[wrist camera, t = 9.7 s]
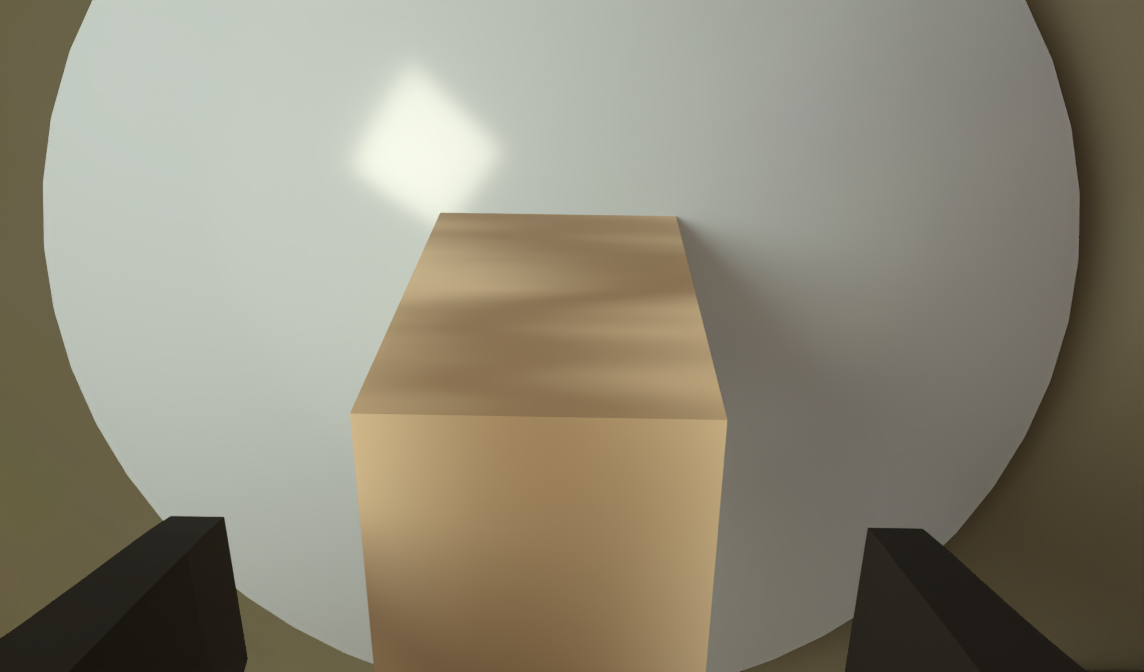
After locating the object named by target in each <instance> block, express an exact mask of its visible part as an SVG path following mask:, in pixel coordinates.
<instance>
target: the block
mask: <svg viewBox="0 0 1144 672" xmlns="http://www.w3.org/2000/svg"><path fill="white" fill-rule="evenodd" d="M350 420H351V431H352V442H353V452H354V463H355V473H356V484H357V495H358V505H359V516H360V526H361V537H362V548H363V558H364V569H365V579H366V590H367V601H368V611H369V622H370V632H371V643H372V654H373V664H374V672H706V664H707V652H708V641H709V629H710V617H711V606H712V594H713V583H714V571H715V559H716V548H717V536H718V524H719V513H720V501H721V490H722V478H723V466H724V455H725V443H726V432H727V416H726V412H725V408H724V404H723V400H722V396H721V392H720V388H719V384H718V381H717V377H716V373H715V369H714V365H713V361H712V357H711V353H710V349H709V345H708V341H707V337H706V333H705V329H704V325H703V321H702V317H701V313H700V309H699V305H698V301H697V297H696V293H695V289H694V285H693V281H692V278H691V274H690V270H689V266H688V262H687V258H686V254H685V250H684V246H683V242H682V238H681V234H680V230H679V226H678V222H677V218H676V216H633V215H566V214H499V213H440V214H439V216H438V219H437V221H436V223H435V225H434V228H433V230H432V232H431V234H430V236H429V239H428V241H427V243H426V245H425V248H424V250H423V252H422V254H421V256H420V259H419V261H418V263H417V265H416V268H415V270H414V272H413V274H412V276H411V279H410V281H409V283H408V285H407V288H406V290H405V292H404V294H403V296H402V299H401V301H400V303H399V305H398V308H397V310H396V312H395V314H394V316H393V319H392V321H391V323H390V325H389V328H388V330H387V332H386V334H385V337H384V339H383V341H382V343H381V345H380V348H379V350H378V352H377V354H376V357H375V359H374V361H373V363H372V365H371V368H370V370H369V372H368V374H367V377H366V379H365V381H364V383H363V385H362V388H361V390H360V392H359V394H358V397H357V399H356V401H355V403H354V405H353V408H352V410H351V412H350Z"/></svg>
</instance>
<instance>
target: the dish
mask: <svg viewBox="0 0 1144 672" xmlns="http://www.w3.org/2000/svg"><path fill="white" fill-rule="evenodd" d="M1079 206H1080V192H1079V184H1078V176H1077V168H1076V161H1075V153H1074V145H1073V137H1072V129H1071V124H1070V121H1069V117H1068V114H1067V110H1066V107H1065V103H1064V99H1063V96H1062V92H1061V89H1060V85H1059V82H1058V78H1057V75H1056V71H1055V68H1054V64H1053V60H1052V58H1051V56H1050V54H1049V51H1048V49H1047V47H1046V45H1045V42H1044V40H1043V38H1042V36H1041V34H1040V31H1039V29H1038V27H1037V25H1036V23H1035V20H1034V18H1033V16H1032V14H1031V12H1030V9H1029V7H1028V5H1027V3H1026V0H93V1H92V3H91V5H90V7H89V10H88V12H87V14H86V16H85V18H84V21H83V23H82V25H81V27H80V30H79V32H78V34H77V36H76V38H75V41H74V43H73V45H72V47H71V50H70V52H69V56H68V59H67V63H66V66H65V70H64V74H63V77H62V81H61V84H60V88H59V91H58V95H57V99H56V102H55V106H54V109H53V113H52V117H51V124H50V132H49V140H48V148H47V155H46V163H45V171H44V179H43V209H44V249H45V256H46V262H47V268H48V275H49V281H50V287H51V294H52V300H53V306H54V311H55V315H56V318H57V321H58V325H59V328H60V331H61V335H62V338H63V341H64V345H65V348H66V351H67V355H68V358H69V361H70V365H71V368H72V370H73V373H74V375H75V377H76V379H77V382H78V384H79V386H80V388H81V391H82V393H83V395H84V397H85V400H86V402H87V404H88V406H89V409H90V411H91V413H92V415H93V418H94V420H95V422H96V424H97V426H98V427H99V429H100V431H101V432H102V434H103V436H104V437H105V439H106V441H107V442H108V444H109V446H110V447H111V449H112V451H113V452H114V454H115V456H116V457H117V459H118V460H119V462H120V464H121V465H122V467H123V469H124V470H125V472H126V474H127V475H128V476H129V478H130V479H131V480H132V482H133V483H134V484H135V485H136V487H137V488H138V489H139V491H140V492H141V493H142V494H143V496H144V497H145V498H146V499H147V501H148V502H149V503H150V505H151V506H152V507H153V508H154V510H155V511H156V512H157V514H158V515H159V516H160V517H161V519H162V520H163V521H164V520H165V519H167V518H168V517H170V516H202V517H224V519H225V525H226V531H227V537H228V543H229V549H230V555H231V561H232V567H233V573H234V579H235V585H236V588H237V589H238V590H239V591H240V592H242V593H243V594H244V595H245V596H247V597H248V598H249V599H251V600H253V601H254V602H256V603H257V604H259V605H260V606H262V607H263V608H265V609H266V610H268V611H270V612H271V613H273V614H274V615H276V616H277V617H279V618H280V619H282V620H284V621H285V622H287V623H288V624H290V625H291V626H293V627H294V628H296V629H298V630H300V631H302V632H304V633H306V634H308V635H310V636H312V637H314V638H316V639H318V640H320V641H322V642H324V643H326V644H328V645H330V646H332V647H334V648H336V649H338V650H340V651H342V652H344V653H346V654H349V655H351V656H354V657H356V658H359V659H362V660H364V661H367V662H369V663H372V664H373V654H372V643H371V632H370V622H369V611H368V601H367V590H366V579H365V569H364V558H363V548H362V537H361V526H360V516H359V505H358V495H357V484H356V473H355V463H354V452H353V442H352V431H351V420H350V412H351V410H352V408H353V405H354V403H355V401H356V399H357V397H358V394H359V392H360V390H361V388H362V385H363V383H364V381H365V379H366V377H367V374H368V372H369V370H370V368H371V365H372V363H373V361H374V359H375V357H376V354H377V352H378V350H379V348H380V345H381V343H382V341H383V339H384V337H385V334H386V332H387V330H388V328H389V325H390V323H391V321H392V319H393V316H394V314H395V312H396V310H397V308H398V305H399V303H400V301H401V299H402V296H403V294H404V292H405V290H406V288H407V285H408V283H409V281H410V279H411V276H412V274H413V272H414V270H415V268H416V265H417V263H418V261H419V259H420V256H421V254H422V252H423V250H424V248H425V245H426V243H427V241H428V239H429V236H430V234H431V232H432V230H433V228H434V225H435V223H436V221H437V219H438V216H439V214H440V213H499V214H566V215H633V216H676V218H677V222H678V226H679V230H680V234H681V238H682V242H683V246H684V250H685V254H686V258H687V262H688V266H689V270H690V274H691V278H692V281H693V285H694V289H695V293H696V297H697V301H698V305H699V309H700V313H701V317H702V321H703V325H704V329H705V333H706V337H707V341H708V345H709V349H710V353H711V357H712V361H713V365H714V369H715V373H716V377H717V381H718V384H719V388H720V392H721V396H722V400H723V404H724V408H725V412H726V416H727V432H726V443H725V455H724V466H723V478H722V490H721V501H720V513H719V524H718V536H717V548H716V559H715V571H714V583H713V594H712V606H711V617H710V629H709V641H708V652H707V664H706V672H739V671H742V670H745V669H748V668H751V667H754V666H757V665H759V664H762V663H765V662H768V661H771V660H774V659H776V658H778V657H780V656H782V655H784V654H786V653H788V652H791V651H793V650H795V649H797V648H799V647H801V646H803V645H805V644H808V643H810V642H812V641H814V640H816V639H818V638H820V637H822V636H824V635H826V634H827V633H829V632H831V631H832V630H834V629H836V628H837V627H839V626H841V625H842V624H844V623H846V622H847V621H849V620H850V619H852V618H853V617H854V611H855V605H856V598H857V592H858V586H859V579H860V573H861V567H862V560H863V554H864V548H865V541H866V535H867V529H868V528H918V529H924V530H925V531H926V532H928V533H929V534H930V535H931V536H932V537H933V538H935V539H936V540H937V541H938V542H939V543H940V544H942V545H944V544H945V543H946V542H947V541H948V540H950V539H951V538H952V537H953V536H954V535H955V534H956V533H957V532H958V530H959V529H960V528H961V527H962V525H963V524H964V523H965V522H966V520H967V519H968V518H969V517H970V516H971V514H972V513H973V512H974V511H975V509H976V508H977V507H978V506H979V504H980V503H981V502H982V501H983V499H984V498H985V497H986V496H987V494H988V493H989V492H990V491H991V490H992V488H993V487H994V486H995V484H996V482H997V481H998V479H999V478H1000V476H1001V474H1002V473H1003V471H1004V469H1005V468H1006V466H1007V465H1008V463H1009V461H1010V460H1011V458H1012V457H1013V455H1014V453H1015V452H1016V450H1017V449H1018V447H1019V445H1020V444H1021V442H1022V441H1023V439H1024V437H1025V436H1026V433H1027V431H1028V429H1029V427H1030V425H1031V422H1032V420H1033V418H1034V416H1035V414H1036V411H1037V409H1038V407H1039V405H1040V403H1041V401H1042V398H1043V396H1044V394H1045V392H1046V390H1047V387H1048V385H1049V383H1050V381H1051V377H1052V374H1053V371H1054V368H1055V364H1056V361H1057V358H1058V354H1059V351H1060V348H1061V345H1062V341H1063V338H1064V335H1065V332H1066V328H1067V325H1068V322H1069V315H1070V309H1071V303H1072V297H1073V290H1074V284H1075V278H1076V272H1077V266H1078V259H1079Z"/></svg>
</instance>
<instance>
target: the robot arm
mask: <svg viewBox="0 0 1144 672" xmlns="http://www.w3.org/2000/svg"><path fill="white" fill-rule="evenodd" d="M247 659H248V658H247V652H246V646H245V640H244V634H243V628H242V622H241V616H240V610H239V603H238V597H237V591H236V585H235V579H234V573H233V567H232V561H231V555H230V549H229V543H228V537H227V531H226V525H225V519H224V517H202V516H170V517H168V518H167V519H165V520H164V521H162V522H161V523H159V524H158V525H156V526H155V527H153V528H152V529H150V530H149V531H148V532H146V533H145V534H143V535H142V536H141V537H139V538H138V539H136V540H135V541H134V542H132V543H131V544H130V545H128V546H127V547H126V548H124V549H123V550H121V551H120V552H119V553H117V554H116V555H115V556H113V557H112V558H111V559H109V560H108V561H107V562H105V563H104V564H103V565H101V566H100V567H99V568H97V569H96V570H95V571H93V572H92V573H91V574H89V575H88V576H87V577H85V578H84V579H82V580H81V581H80V582H78V583H77V584H76V585H74V586H73V587H72V588H70V589H69V590H67V591H66V592H65V593H63V594H62V595H61V596H59V597H58V598H56V599H55V600H54V601H52V602H51V603H50V604H48V605H47V606H45V607H44V608H43V609H41V610H40V611H39V612H37V613H36V614H35V615H33V616H32V617H30V618H29V619H28V620H26V621H25V622H24V623H22V624H21V625H19V626H18V627H17V628H15V629H14V630H12V631H11V632H9V633H8V634H6V635H5V636H3V637H2V638H0V672H244V670H245V666H246V663H247ZM845 671H846V672H1087V671H1085V670H1084V669H1083V668H1082V667H1080V666H1079V665H1078V664H1077V663H1076V662H1074V661H1073V660H1072V659H1071V658H1069V657H1068V656H1067V655H1066V654H1065V653H1064V652H1062V651H1061V650H1060V649H1059V648H1058V647H1056V646H1055V645H1054V644H1053V643H1052V642H1050V641H1049V640H1048V639H1047V638H1046V637H1045V636H1044V635H1042V634H1041V633H1040V632H1039V631H1038V630H1037V629H1035V628H1034V627H1033V626H1032V625H1031V624H1030V623H1028V622H1027V621H1026V620H1025V619H1024V618H1023V617H1022V616H1021V615H1019V614H1018V613H1017V612H1016V611H1015V610H1014V609H1013V608H1011V607H1010V606H1009V605H1008V604H1007V603H1006V602H1005V601H1004V600H1002V599H1001V598H1000V597H999V596H998V595H997V594H996V593H995V592H994V591H993V590H991V589H990V588H989V587H988V586H987V585H986V584H985V583H984V582H983V581H981V580H980V579H979V578H978V577H977V576H976V575H975V574H974V573H973V572H971V571H970V570H969V569H968V568H967V567H966V566H965V565H964V564H963V563H962V562H960V561H959V560H958V559H957V558H956V557H955V556H954V555H953V554H952V553H950V552H949V551H948V550H947V549H946V548H945V547H944V546H943V545H942V544H940V543H939V542H938V541H937V540H936V539H935V538H933V537H932V536H931V535H930V534H929V533H928V532H926V531H925V530H924V529H918V528H868V529H867V535H866V541H865V548H864V554H863V560H862V567H861V573H860V579H859V586H858V592H857V598H856V605H855V611H854V617H853V624H852V630H851V636H850V643H849V649H848V655H847V662H846V668H845Z"/></svg>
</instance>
